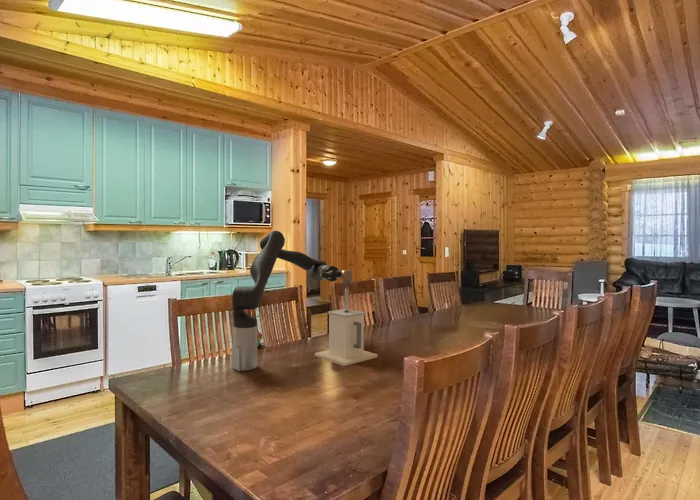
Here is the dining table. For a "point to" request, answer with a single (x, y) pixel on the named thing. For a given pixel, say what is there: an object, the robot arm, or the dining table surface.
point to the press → (346, 338)
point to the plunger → (346, 284)
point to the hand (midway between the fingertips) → (341, 276)
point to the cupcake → (259, 337)
